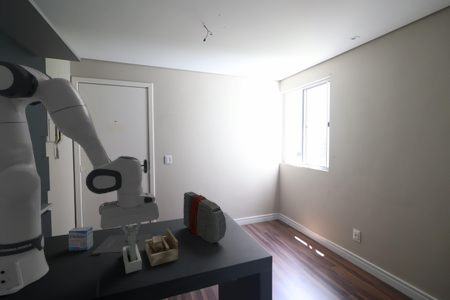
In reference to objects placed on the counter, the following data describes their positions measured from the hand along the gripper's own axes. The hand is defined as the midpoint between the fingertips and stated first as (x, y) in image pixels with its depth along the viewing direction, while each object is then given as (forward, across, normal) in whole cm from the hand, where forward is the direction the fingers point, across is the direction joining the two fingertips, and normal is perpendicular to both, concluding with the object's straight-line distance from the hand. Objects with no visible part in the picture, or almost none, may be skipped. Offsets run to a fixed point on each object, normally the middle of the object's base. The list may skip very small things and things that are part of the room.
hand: (131, 234), depth 82 cm
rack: (+11, +11, 0) cm, 16 cm away
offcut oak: (+10, +9, 0) cm, 14 cm away
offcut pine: (+6, +9, 0) cm, 11 cm away
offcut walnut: (+8, +9, 0) cm, 12 cm away
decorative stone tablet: (+12, +33, +8) cm, 36 cm away
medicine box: (+11, -18, +24) cm, 32 cm away
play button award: (+12, -2, +18) cm, 22 cm away
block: (+9, 0, 0) cm, 9 cm away
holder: (+11, 0, 0) cm, 11 cm away
